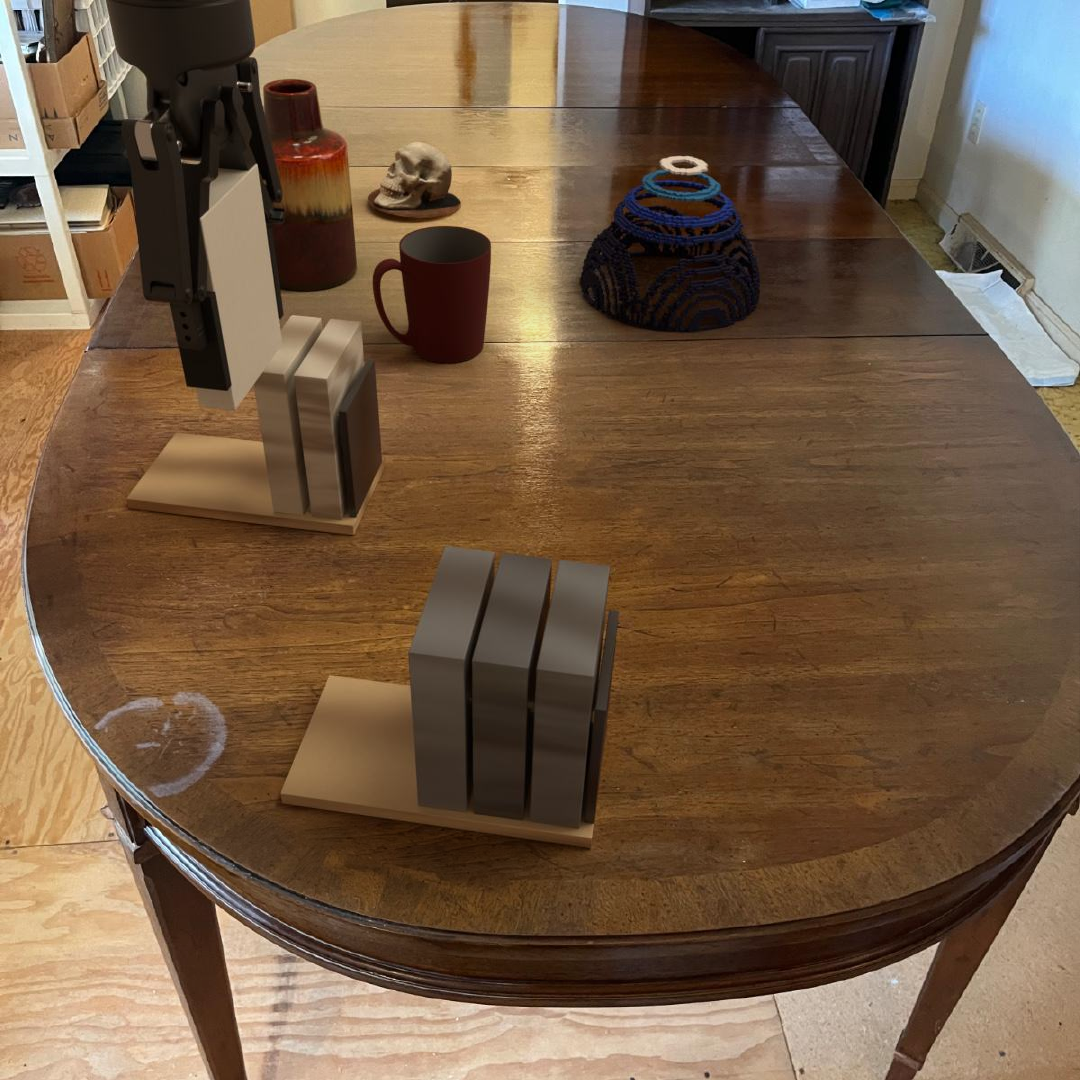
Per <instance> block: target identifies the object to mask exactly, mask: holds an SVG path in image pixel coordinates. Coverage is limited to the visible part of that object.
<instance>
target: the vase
mask: <svg viewBox="0 0 1080 1080" xmlns="http://www.w3.org/2000/svg"><path fill="white" fill-rule="evenodd" d="M262 95H263V96H262V97H263V98H262V99H263V109H264V113H265V118H266V122H267V127H268V131H269V135H270V140H271V144H272V148H273V153H274V157H275V162H276V166H277V170H278V175H279V179H280V184H281V188H282V194H283V197H282V200H281V202H280V203H279V204H278V203H273V207H278V208H284V209H285V221H284V223H283V224H273V223H269V227H272V231H273V239H274V246H275V254H276V261H277V268H278V276H279V283H280V289H284V290H289V291H297V292H312V291H313V292H314V291H322V290H327V289H332V288H336V287H338V286H341V285H344V284H345V283H347V282H349V281H351V280H352V278H354V277H355V275H356V274H357V270H358V262H357V248H356V237H355V236H356V235H355V222H354V211H353V210H354V209H353V199H352V186H351V175H350V164H349V163H350V162H349V152H348V144H347V142H346V140H345V138H344V137H343V136H342V135H341V134H339V133H338V132H336V131H335V130H334V131H333V130H331V129H329V128H326V127H324V125H323V118H322V113H321V107H320V101H319V94H318V89H317V86H316V84H315V83H314V82H312V81H309V80H307V79H298V78H283V79H276V80H272V81H270V82H267V83H265V84H264V85H263V87H262ZM263 182H264V184H266V180H263Z"/></svg>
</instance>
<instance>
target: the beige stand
mask: <svg viewBox="0 0 1080 1080" xmlns="http://www.w3.org/2000/svg"><path fill="white" fill-rule="evenodd" d="M280 331H281V338H282V345H281V347H280V348H279V350H278V351H277V352H276V354H275V355H274V357H273V358H272V359H271V361H270V362H269V364H268V365H267V367H266V368H265V369H264V371H263V372H262V374H261V375H260V376H259V378H258V379H257V381H256V382H255V383H254V385H253V391H254V397H255V403H256V410H257V416H258V421H259V428H260V433H261V434H260V435H261V440H262V441H257V440H248V439H238V438H230V437H221V436H213V435H204V434H194V433H187V432H186V433H184V432H175V433H174V435H173V436H171V438H170V440H168V442H167V444H166V445H165V446H164V448H162V450H161V452H160V453H159V454H158V456H157V457H156V458H155V460H154V461H153V462H152V463H151V465H150V466H149V468H148V469H147V470H146V471H145V472H144V473H143V475H142V476H141V478H140V479H139V481H138V482H137V483H136V485H134V488H133V489H131V491H130V493H129V494H128V495H127V496H126V498H125V501H126V505H127V508H128V509H133V510H142V511H149V512H155V513H166V514H173V515H181V516H190V517H197V518H198V517H200V518H208V519H216V520H225V521H232V522H239V523H248V524H257V525H265V526H273V527H282V528H290V529H298V530H299V529H300V530H306V531H316V532H324V533H332V534H341V535H348V536H354V535H355V533H356V532H357V529H358V527H359V525H360V524H361V523H360V522H361V520H362V518H363V516H364V514H365V513H366V509H367V508H368V505H369V503H370V501H371V498H372V497H373V495H374V492H375V490H376V488H377V486H378V483H379V481H380V479H381V477H382V475H383V472H384V470H385V467H386V466H387V462H386V461H387V460H386V455H382V454H383V453H382V441H381V428H380V415H379V401H378V387H377V372H376V360H375V359H372V358H371V359H370V358H368V359H366V361H365V356H364V345H363V344H364V343H363V331H362V322H361V321H357V320H347V319H337V318H329V320H328V322H327V323H326V325H325V326H324V328H323V319H322V317H317V316H316V317H315V316H306V315H304V316H303V315H295V314H292V315H290V316H289V318H288V319H287V321H286V322H285V323H284V325H283V326H282V328H280Z"/></svg>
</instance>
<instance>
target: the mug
mask: <svg viewBox="0 0 1080 1080" xmlns="http://www.w3.org/2000/svg"><path fill="white" fill-rule="evenodd" d="M398 245H399V246H398V251H399V260H398V259H395V258H386V259H382V260H380V262H378V263H377V265H376V266H375V268H374V270H373V273H372V293H373V299H374V303H375V305H376V310H377V312H378V315H379V317H380V320H381V321H382V323H383V325H384V326H385V328H386V329H387V331H388V332H389V333H390V334H391V335H392V336H393V337H394V338H395V339H396V340H397V341H398V342H400V343H401V344H403V345H406V346H409V347H411V348H412V351H413V352H414V353H415V354H416V355H417V356H419V357H420V358H423V359H424V360H426V361H427V360H428V361H431V362H436V363H445V364H448V363H449V364H451V363H461V362H465V361H468V360H471V359H473V358H475V357H477V356H478V355H479V354H481V352H482V351H483V349H484V345H485V335H486V324H487V315H488V305H489V293H490V292H489V290H490V279H491V278H490V277H491V267H492V266H491V263H492V242H491V241H490V239H489V238H488V237H487V236H486V235H485V234H483V233H482V232H480V231H477V230H475V229H472V228H468V227H464V226H458V225H457V226H456V225H434V226H428V227H427V226H426V227H422V228H418V229H415V230H412V231H410V232H408V233H406V234H405V235H404V236H403V237H401V239H400V241H399V242H398ZM392 270H393V271H394V270H397V271H399V272H401V279H402V287H403V288H402V289H403V293H404V294H403V295H404V301H405V309H406V315H407V322H408V323H407V330H406V332H405V333H400V332H399V331H398V330H396V328H394V326H393V324H392V323H391V321H390V320H389V317H388V315H387V314H386V313H387V312H386V310H385V307H384V302H383V297H382V291H381V283H382V282H381V281H382V279H383V276H384V275H385V274H386V273H388V272H389V271H392Z"/></svg>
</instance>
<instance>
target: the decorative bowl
mask: <svg viewBox="0 0 1080 1080" xmlns="http://www.w3.org/2000/svg"><path fill="white" fill-rule="evenodd" d="M658 163H659V167H661V168H662V169H657V170H655V171H654V172H651V173H648V174H645V175H644V176H643V177H642V178H641V185H638V186H636V187H634V188H631V189H630V190H629V191H628V192H627V193H626V194H625V195H624V198H623V200H620V202H618V203H617V206H616V207H615V209H614V211H613V214H612V215H613V221H610V224H609V226H608V227H606V228H604V229H603V230H602V232H600V233H599V234H596V237H595V238H593V241H592V242H591V244H590V245H591V246H590V247H589V248H587V249H588V250H587V251H586V255H585V258H584V259H583V266H582V270H581V272H580V273H581V275H580V277H579V285H580V289H581V293H582V298H584V299H585V301H587V303H588V304H589V305H590V306H591V307H594V308H595V310H597V311H600V313H602V314H605V315H606V316H607V317H608V318H611V319H614V320H615V321H619V322H620V323H625V324H629V326H636V327H639V328H640V329H642V328H645V329H649V330H653V331H655V330H657V331H661V332H665V331H666V332H673V331H674V332H680V333H685V332H687V333H694V332H699V331H700V332H701V331H706V330H707V331H708V330H713V329H720V328H727V327H729V326H731V325H734V324H735V323H736V322H741V321H743V320H745V319H746V318H747V317H749V316H750V315H751V313H752V312H755V310H756V309H757V305H758V304H759V300H760V294H761V289H760V287H761V286H760V285H761V283H760V282H761V278H760V271H759V269H760V268H759V266H758V262H757V257H756V256H755V254H754V253H755V252H754V249H753V248H752V246H753V244H752V243H751V242H750V241H749V239H748V238H747V235H745V234H744V232H743V230H742V228H744V227H745V225H744V224H743V223H742V219H741V217H740V215H739V212H738V211H736V209H735V206H734V202H733V201H732V200H731V199H730V198H729V197H728V196H727V195H725V194H724V193H723V192H722V185H721V184H720V183H719V182H718V181H716V180H715V179H714V178H713V177H712V176H710V175H708V174H706V173H705V172H708V171H709V168H708V167H709V164H708V163H707V162H706V161H704V160H702V159H699V158H698V157H694V156H691V155H690V156H689V155H685V156H682V155H676V156H675V155H674V156H668V157H664V158H661V159H660V160H659V162H658ZM674 163H675V164H676V163H686V164H687V163H689V164H690V165H694V166H692V167H691V168H685V167H682V168H681V167H680V168H679V167H676V166H674V165H673V164H674ZM703 172H704V173H703ZM666 175H681V176H693V177H694V178H700V179H702V180H705V181H707V184H708V185H706V184H702V183H699V182H693V181H686V180H683V181H682V180H671V179H665V180H656V178H658V177H659V176H666ZM664 187H666V188H670V187H671V188H672V187H676V188H680V187H681V188H685V189H693V190H697V191H692V192H691V191H688V190H682V191H677V190H675V189H674V190H670V189H665V188H664ZM642 191H645V192H644V193H639V192H642ZM652 198H661V199H667V200H671V201H675V202H676V201H680V202H695V203H696V202H702V203H708V204H712V205H713V207H714V206H716V209H719V210H717V211H713V212H710V213H709V214H704V215H703V216H704V217H703V218H701V217H700V216H696V215H693V216H688V215H684V214H683V212H679V210H677V209H676V208H671V207H670V206H667V205H666V204H665V205H659V204H658V205H657V204H656V205H648V206H643V205H642V204H639V203H638V201H642V200H643V199H644V200H645V199H652ZM624 208H625V209H627V211H625V213H624ZM645 222H648V223H645ZM669 227H671V228H669ZM715 227H716V230H714V229H715ZM681 228H683V229H684V232H685V233H686V235H684V234H683V233H682V232H683V231H682V230H681ZM698 228H701V230H700V231H699V233H698V235H697V233H696V232H695V229H698ZM647 229H648V230H647ZM672 229H673V230H674V231H673V230H672ZM664 231H666V232H664ZM674 233H675V234H674ZM621 237H622V238H621ZM734 241H737V242H741V244H739V245H738V246H734V247H733V248H732V249H731V250H730V251H729V252H728V254H727V253H725V252H726V251H727V248H729V247H730V246H731V245H732V244H733V243H734ZM718 243H719V244H720V243H721V244H720V245H719V248H716V249H715V247H716V245H717V244H718ZM633 244H639V245H640V246H641V247H642V248H643V249H644V250H637V251H629V249H630V248H631V247H632V246H633ZM706 244H708V246H707V249H706V251H705V252H703V250H704V247H705V245H706ZM660 245H662V248H660ZM686 247H687V248H686ZM661 249H662V250H661ZM689 249H690V250H689ZM715 250H716V252H715ZM739 252H740V253H741V254H742V255H740V256H739V257H738V258H736V257H735V255H737V254H739ZM659 254H660V255H663V256H667V255H670V256H675V255H677V256H678V257H685V258H681V259H678V260H677V261H676V262H675V265H672V266H671V267H666V268H665V270H663V272H662V273H658V275H657V276H655V281H653V282H652V283H650V286H648V287H647V290H648V291H645V293H644V296H642V298H640V295H639V292H640V289H638V288H639V284H638V280H637V279H638V278H637V274H636V270H635V267H634V263H633V261H632V257H636V256H642V255H645V256H651V255H659ZM687 258H688V259H687ZM618 260H619V261H618ZM691 263H694V264H701V263H713V264H714V265H715V266H710V267H709V266H708V267H704V268H703V267H701V268H694V269H693V268H685V270H684V267H686V266H688V264H691ZM601 266H604V267H605V268H606V271H607V272H606V273H607V275H608V276H609V279H610V283H611V287H612V288H611V290H610V287H609V283H608V280H607V279H606V278H607V277H606V273H605V272H604V270H602V268H601ZM683 270H684V271H683ZM595 271H597V272H598V273H599V275H598V274H597V273H596V272H595ZM623 271H624V272H623ZM673 273H676V274H677V275H675V279H676V280H675V281H673V283H669V284H668V286H666V287H664V284H665V285H666V284H667V282H669V280H670V279H671V278H672V275H673ZM720 273H722V275H724V276H721V277H715V278H711V279H708V280H704V279H700V280H693V276H697V277H700V276H707V275H716V274H720ZM725 277H726V278H725ZM727 277H728V278H727ZM600 278H601V279H600ZM730 279H732V280H733V281H734V282H735V283H736V284H737V285H740V286H739V290H740V291H743V295H744V300H743V295H741V294H740V293H739V292H738V290H737V289H735V288H734V285H733V283H732V281H730ZM688 280H691V281H689V283H687V284H686V286H684V290H683V291H682V292H681V293H680V295H678V296H677V298H675V300H673V301H672V303H670V304H668V305H665V304H666V302H668V298H669V297H671V294H675V293H676V289H679V288H681V286H683V285H684V283H686V281H688ZM692 280H693V281H692ZM617 287H618V288H617ZM662 287H663V288H662ZM589 289H590V290H591V293H592V296H593V298H592V297H591V295H590V291H589ZM661 289H662V290H661ZM658 290H660V292H659V291H658ZM710 290H713V291H714V292H715V293H708V294H706V292H707V291H710ZM611 291H612V295H613V299H614V302H613V311H614V313H613V312H612V308H611V307H612V302H611V298H610V293H611ZM719 291H724V292H725V294H727V296H725V295H724V294H720V292H719ZM604 292H605V293H604ZM658 294H660V296H659V297H658V298H657V299H658V300H657V301H656V302H655V303H651V304H650V300H654V298H655V297H656V295H658ZM697 294H701V295H698V296H697V297H696V298H695V300H692V298H693V297H695V295H697ZM728 295H730V296H731V297H732V298H733V299H734V300H735V302H733V300H731V299H730V298H729V297H728ZM605 300H606V301H605ZM688 300H691V301H690V303H688V302H687V301H688ZM713 300H717V301H718V302H722V303H723V305H727V309H728V312H729V313H730V314H729V315H728V314H727V310H725V308H724V307H723V308H721V307H720V306H714V307H706V308H699V309H698V311H696V313H695V314H693V316H691V317H690V323H688V324H687V327H686V326H683V325H684V324H683V323H684V318H686V317H687V315H689V314H690V313H689V312H690V310H694V308H695V307H697V305H699V303H700V302H706V301H713ZM618 302H619V304H618ZM620 302H621V303H620ZM605 303H606V307H605ZM685 303H688V305H687V306H685V308H683V309H682V311H680V315H678V316H677V311H679V310H680V308H682V306H683V305H685ZM744 303H745V304H744ZM638 305H640V309H639V310H638ZM665 306H666V309H667V311H666V312H663V314H661V315H660V319H658V320H657V317H658V316H657V314H660V310H661V309H663V307H665ZM650 307H652V310H649V309H650ZM628 309H629V314H628V315H627V312H628ZM635 314H636V315H635ZM647 314H649V319H646V320H645V317H647ZM737 314H738V315H737ZM712 316H713V317H714V318H715V320H717V323H716V322H715V323H714V324H711V325H704V326H699V325H701V324H702V322H704V320H705V319H706V318H707V317H712ZM676 317H677V318H676ZM728 317H729V318H728ZM674 318H676V319H674ZM644 320H645V323H644ZM673 323H674V326H672V327H671V325H673ZM656 324H657V325H656Z"/></svg>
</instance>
